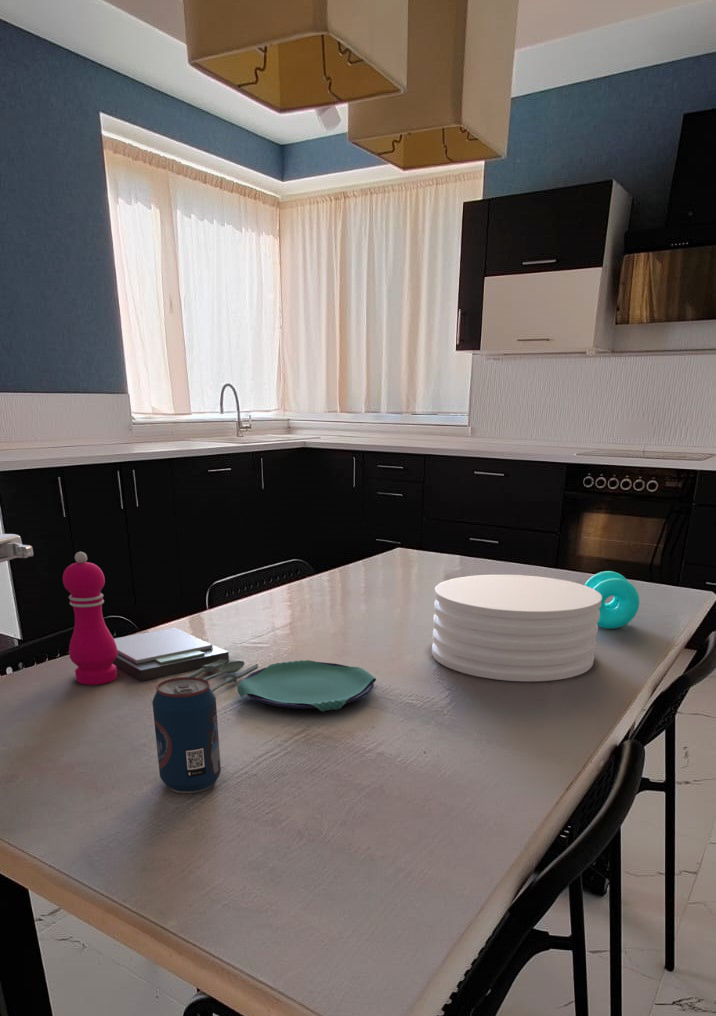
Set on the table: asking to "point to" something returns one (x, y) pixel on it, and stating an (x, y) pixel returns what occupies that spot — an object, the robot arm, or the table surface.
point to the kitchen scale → (164, 653)
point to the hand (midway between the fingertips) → (11, 557)
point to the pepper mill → (89, 624)
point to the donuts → (615, 599)
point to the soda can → (187, 734)
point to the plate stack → (515, 627)
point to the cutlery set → (297, 683)
